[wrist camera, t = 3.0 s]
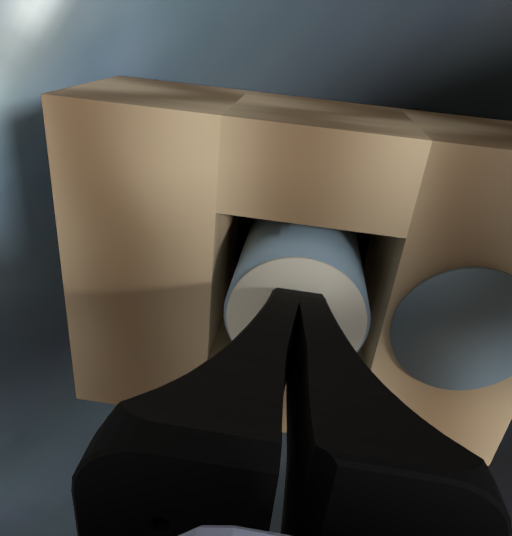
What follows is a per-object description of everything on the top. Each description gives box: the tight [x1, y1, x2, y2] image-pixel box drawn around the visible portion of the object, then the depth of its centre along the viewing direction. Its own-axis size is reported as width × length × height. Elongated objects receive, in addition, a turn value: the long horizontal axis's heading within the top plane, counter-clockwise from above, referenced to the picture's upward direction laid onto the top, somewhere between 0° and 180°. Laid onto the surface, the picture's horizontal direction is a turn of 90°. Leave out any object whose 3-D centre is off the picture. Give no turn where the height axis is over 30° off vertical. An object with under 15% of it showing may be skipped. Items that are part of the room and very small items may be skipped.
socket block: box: [41, 76, 512, 466], centre depth 15 cm, size 14×10×5 cm
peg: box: [224, 218, 371, 352], centre depth 15 cm, size 4×4×5 cm
